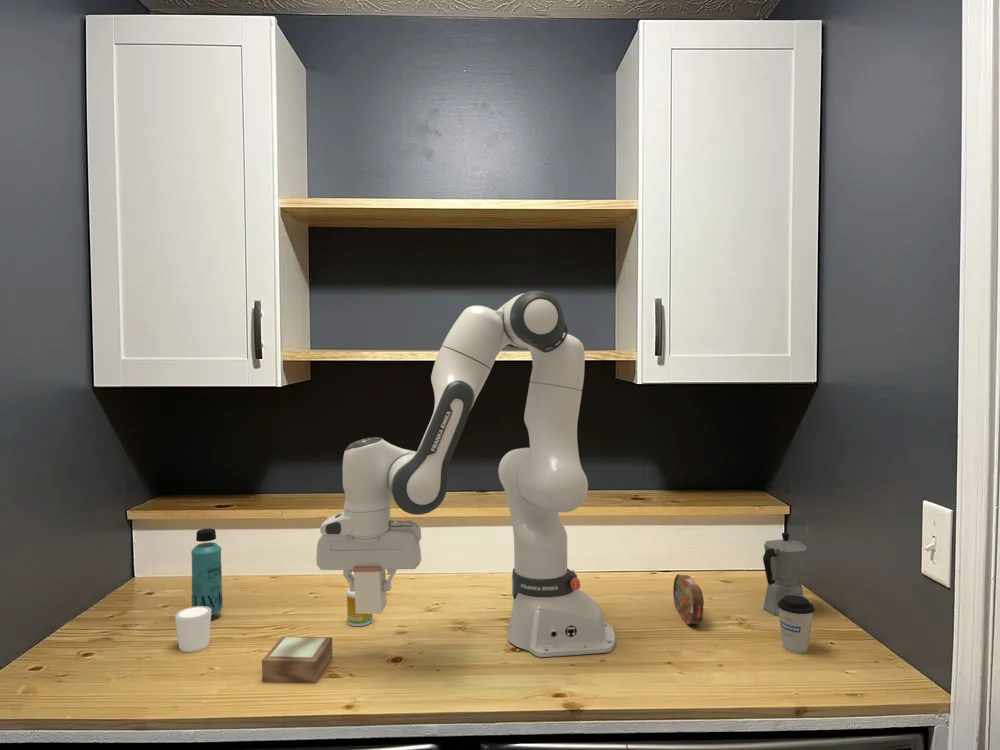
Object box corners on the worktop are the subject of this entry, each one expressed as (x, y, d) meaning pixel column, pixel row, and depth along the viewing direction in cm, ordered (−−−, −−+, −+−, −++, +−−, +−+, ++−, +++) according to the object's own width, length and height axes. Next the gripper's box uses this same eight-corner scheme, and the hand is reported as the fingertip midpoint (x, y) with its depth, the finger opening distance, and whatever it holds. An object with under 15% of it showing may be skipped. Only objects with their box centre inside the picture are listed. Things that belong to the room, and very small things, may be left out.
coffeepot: (779, 597, 165) (780, 523, 164) (818, 608, 158) (820, 531, 157) (744, 613, 155) (745, 535, 154) (784, 627, 148) (785, 544, 147)
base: (332, 657, 135) (332, 635, 135) (316, 682, 125) (315, 659, 125) (282, 656, 135) (282, 635, 135) (262, 681, 125) (261, 658, 125)
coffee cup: (795, 638, 142) (796, 591, 142) (822, 652, 136) (823, 603, 135) (768, 644, 140) (769, 596, 139) (794, 659, 133) (795, 608, 133)
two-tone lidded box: (387, 603, 138) (385, 558, 137) (381, 613, 132) (379, 567, 132) (361, 603, 138) (359, 559, 137) (355, 614, 133) (352, 568, 132)
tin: (672, 604, 161) (672, 568, 161) (685, 603, 161) (685, 568, 161) (691, 631, 146) (691, 592, 146) (705, 631, 146) (706, 592, 146)
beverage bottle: (185, 621, 152) (182, 533, 151) (205, 610, 159) (202, 525, 158) (211, 624, 151) (208, 534, 150) (229, 612, 157) (227, 526, 156)
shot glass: (219, 640, 143) (218, 607, 142) (196, 654, 136) (195, 620, 136) (191, 636, 145) (191, 603, 144) (168, 650, 138) (167, 616, 138)
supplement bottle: (366, 627, 149) (365, 583, 148) (343, 625, 150) (342, 582, 149) (376, 617, 154) (375, 575, 153) (353, 616, 155) (352, 573, 154)
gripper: (423, 516, 137) (425, 583, 137) (322, 517, 138) (325, 584, 139) (417, 525, 130) (420, 596, 131) (311, 526, 131) (315, 597, 132)
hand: (370, 590), depth 135 cm, fingers closed on two-tone lidded box, 5 cm apart
